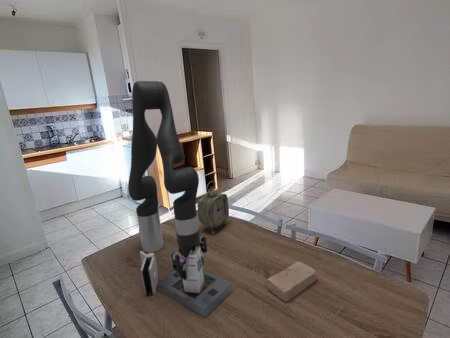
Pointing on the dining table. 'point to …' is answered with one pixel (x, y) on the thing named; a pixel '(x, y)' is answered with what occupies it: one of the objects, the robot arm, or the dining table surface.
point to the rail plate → (204, 300)
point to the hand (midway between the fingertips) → (192, 271)
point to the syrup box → (194, 272)
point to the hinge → (149, 273)
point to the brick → (291, 281)
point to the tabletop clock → (213, 208)
